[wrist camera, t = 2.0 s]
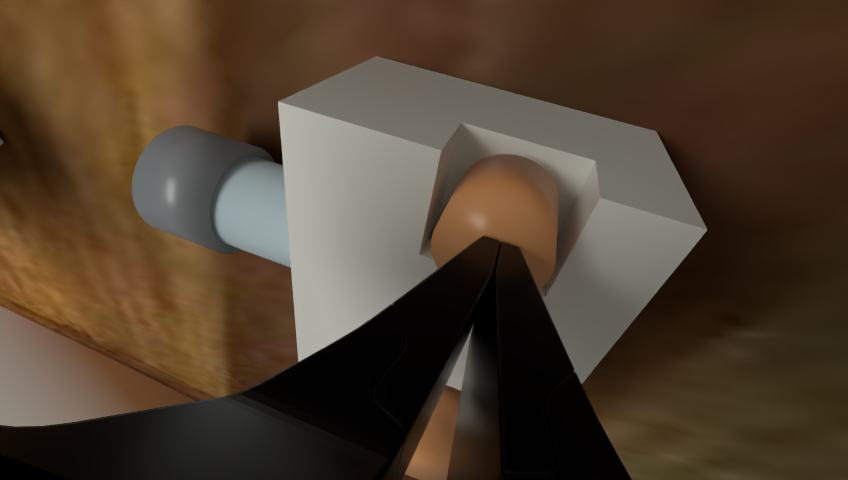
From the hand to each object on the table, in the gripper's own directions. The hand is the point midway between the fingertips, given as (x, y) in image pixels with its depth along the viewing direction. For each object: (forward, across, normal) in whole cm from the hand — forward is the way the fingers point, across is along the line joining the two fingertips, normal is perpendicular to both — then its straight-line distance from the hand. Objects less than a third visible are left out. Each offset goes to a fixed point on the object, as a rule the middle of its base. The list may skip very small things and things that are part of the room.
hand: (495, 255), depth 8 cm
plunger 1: (+1, 0, +9) cm, 9 cm away
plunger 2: (+3, 0, 0) cm, 3 cm away
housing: (+7, +1, +4) cm, 8 cm away
